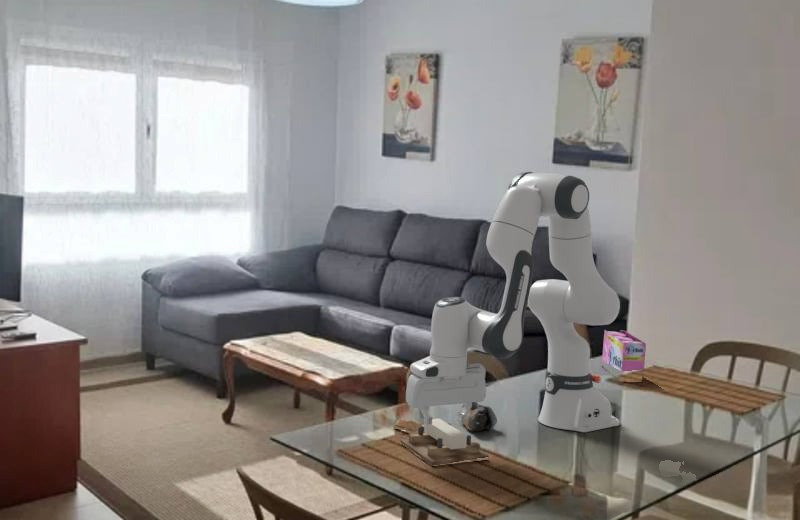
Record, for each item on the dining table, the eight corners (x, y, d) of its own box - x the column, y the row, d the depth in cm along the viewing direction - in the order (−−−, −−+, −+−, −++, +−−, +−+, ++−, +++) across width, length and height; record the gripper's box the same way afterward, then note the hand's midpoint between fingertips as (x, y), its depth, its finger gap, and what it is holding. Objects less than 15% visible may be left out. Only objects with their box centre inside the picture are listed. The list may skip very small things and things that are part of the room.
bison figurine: (466, 420, 239) (441, 425, 232) (469, 395, 238) (444, 399, 231) (500, 432, 230) (476, 437, 223) (503, 405, 230) (478, 410, 223)
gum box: (599, 366, 313) (602, 328, 312) (621, 366, 314) (623, 329, 313) (620, 382, 290) (623, 342, 288) (643, 383, 290) (646, 343, 289)
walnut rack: (453, 438, 221) (454, 418, 221) (488, 460, 206) (489, 438, 205) (400, 444, 215) (401, 423, 214) (431, 467, 199) (432, 444, 199)
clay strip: (438, 430, 217) (439, 418, 217) (466, 447, 204) (466, 435, 204) (424, 431, 215) (424, 419, 215) (451, 449, 203) (451, 436, 202)
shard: (421, 440, 220) (422, 433, 220) (391, 438, 220) (392, 431, 220) (422, 427, 231) (422, 421, 231) (393, 425, 231) (394, 419, 231)
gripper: (479, 359, 215) (476, 414, 217) (404, 365, 207) (401, 422, 208) (492, 365, 210) (489, 421, 211) (415, 371, 201) (413, 429, 203)
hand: (445, 421), depth 210 cm, fingers open, 8 cm apart
